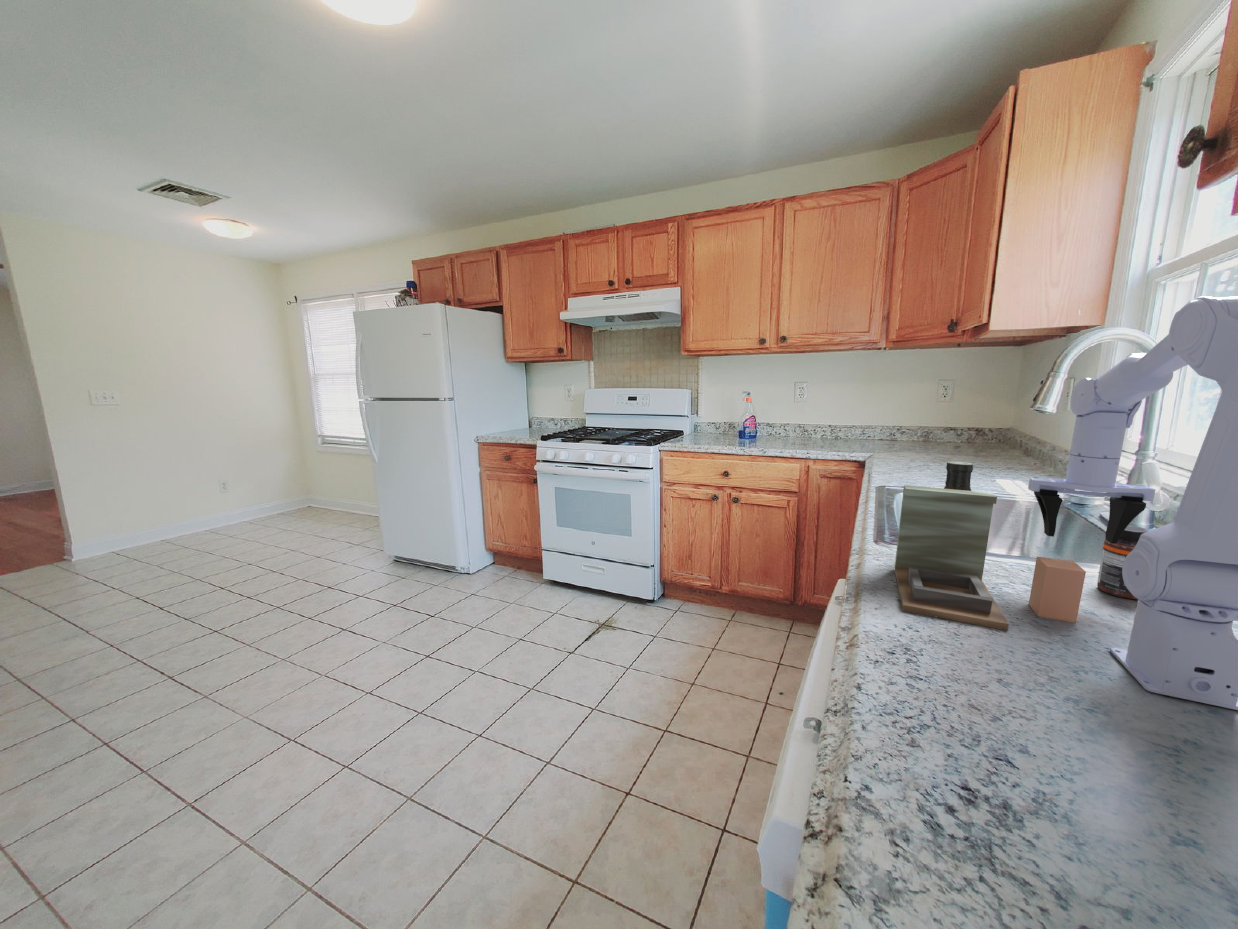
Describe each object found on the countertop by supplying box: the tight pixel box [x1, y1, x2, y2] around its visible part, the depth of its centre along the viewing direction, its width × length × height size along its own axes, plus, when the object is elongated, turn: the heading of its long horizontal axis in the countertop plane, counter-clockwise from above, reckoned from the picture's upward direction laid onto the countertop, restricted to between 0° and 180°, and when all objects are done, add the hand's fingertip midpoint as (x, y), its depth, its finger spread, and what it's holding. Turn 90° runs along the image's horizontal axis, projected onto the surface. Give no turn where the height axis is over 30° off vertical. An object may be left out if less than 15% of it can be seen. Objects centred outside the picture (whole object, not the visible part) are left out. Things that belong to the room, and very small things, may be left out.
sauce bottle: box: [943, 461, 974, 491], centre depth 90 cm, size 7×6×20 cm
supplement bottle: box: [1096, 524, 1150, 600], centre depth 79 cm, size 6×6×11 cm
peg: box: [1028, 556, 1087, 624], centre depth 72 cm, size 4×4×8 cm
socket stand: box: [894, 484, 1010, 631], centre depth 77 cm, size 18×13×16 cm
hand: (1079, 538), depth 78 cm, fingers open, 7 cm apart
